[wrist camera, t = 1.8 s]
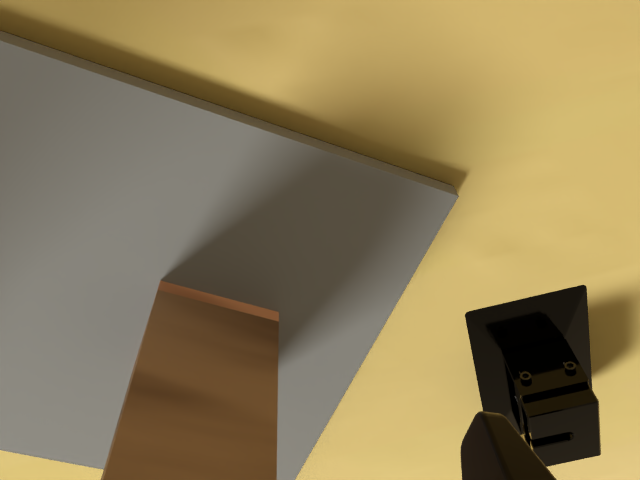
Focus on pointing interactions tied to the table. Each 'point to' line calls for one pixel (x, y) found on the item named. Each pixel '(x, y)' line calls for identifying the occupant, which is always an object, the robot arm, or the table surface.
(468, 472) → the robot arm
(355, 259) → the slate mat
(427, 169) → the table surface
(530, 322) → the black mounting bracket
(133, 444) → the walnut post
